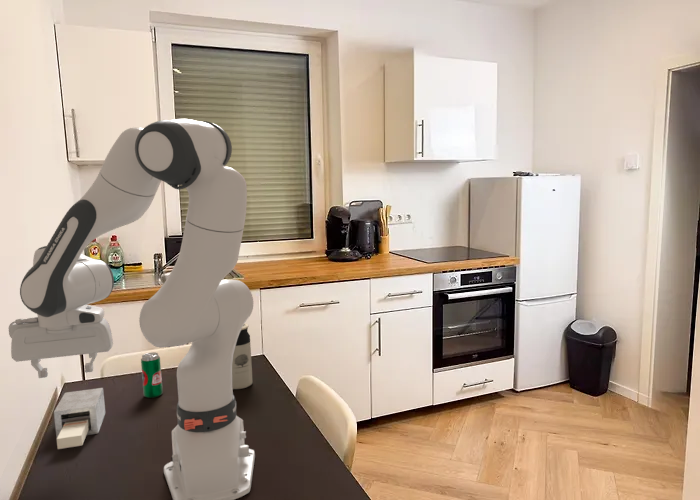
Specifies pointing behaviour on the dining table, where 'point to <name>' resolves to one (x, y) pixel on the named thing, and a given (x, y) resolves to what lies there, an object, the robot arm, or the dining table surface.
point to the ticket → (73, 431)
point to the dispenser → (81, 409)
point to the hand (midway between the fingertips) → (66, 374)
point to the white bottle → (242, 361)
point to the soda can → (151, 375)
